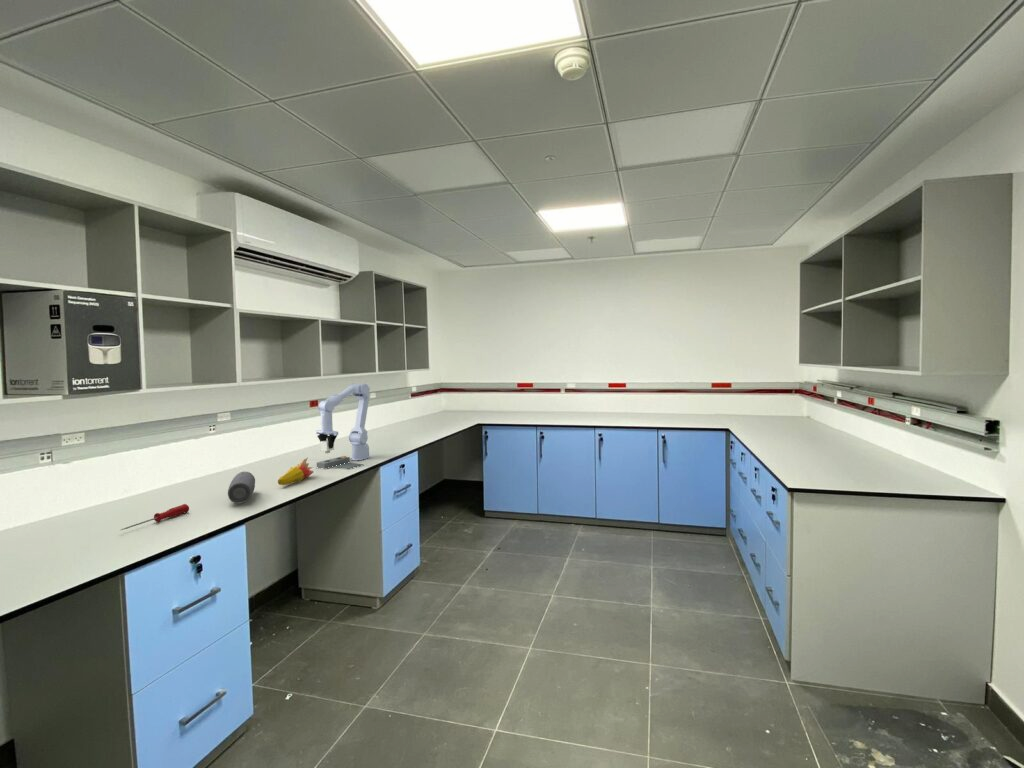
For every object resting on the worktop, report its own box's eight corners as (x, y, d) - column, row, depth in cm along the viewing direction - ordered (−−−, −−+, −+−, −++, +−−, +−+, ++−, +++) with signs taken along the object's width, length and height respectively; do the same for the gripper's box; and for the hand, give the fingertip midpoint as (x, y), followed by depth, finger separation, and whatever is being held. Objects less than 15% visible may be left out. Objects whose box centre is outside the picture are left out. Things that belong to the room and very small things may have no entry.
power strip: (342, 461, 281) (341, 455, 281) (349, 462, 278) (349, 456, 278) (316, 468, 265) (316, 461, 265) (324, 469, 262) (324, 462, 262)
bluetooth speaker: (232, 494, 215) (231, 471, 214) (256, 491, 219) (255, 469, 218) (226, 508, 194) (225, 483, 194) (253, 505, 198) (252, 480, 197)
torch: (279, 496, 224) (307, 476, 248) (292, 488, 222) (319, 469, 247) (269, 481, 223) (298, 462, 247) (283, 473, 222) (310, 455, 246)
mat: (348, 463, 275) (348, 462, 275) (363, 465, 271) (363, 464, 271) (333, 467, 266) (333, 466, 266) (348, 469, 261) (348, 468, 261)
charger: (328, 451, 271) (327, 440, 271) (334, 452, 269) (333, 440, 269) (321, 453, 266) (320, 441, 266) (327, 454, 264) (326, 442, 264)
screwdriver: (116, 534, 166) (116, 524, 165) (183, 512, 190) (182, 503, 190) (124, 535, 165) (124, 525, 165) (190, 512, 189) (190, 503, 189)
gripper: (311, 423, 267) (312, 448, 267) (330, 424, 260) (331, 450, 261) (321, 421, 273) (322, 446, 274) (341, 422, 266) (341, 447, 267)
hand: (327, 447), depth 268 cm, fingers closed on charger, 4 cm apart
